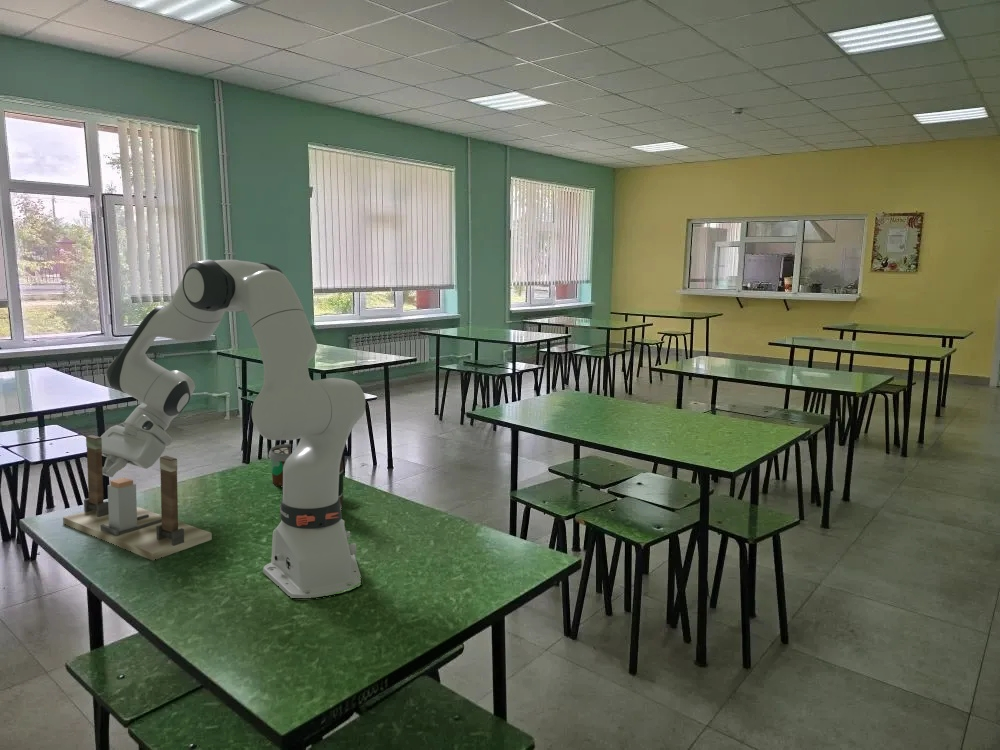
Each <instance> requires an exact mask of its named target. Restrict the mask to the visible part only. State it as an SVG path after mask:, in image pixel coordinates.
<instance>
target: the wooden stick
mask: <svg viewBox="0 0 1000 750" xmlns="http://www.w3.org/2000/svg"><path fill="white" fill-rule="evenodd" d="M85 442H86V443H85V445H86V446H85V447H86V460H87V463H86V464H87V485H88V486H87V489H88V498H89V502H90V503H89V505H88V508H89V509H92V510H94V511H97V507H96V504H99V503H102V502H104V483H103V482H104V481H103V479H104V478H103V476H104V475H103V473H102V468H103V456H102V438H101V436H97V435H94V434H91V435H86V436H85Z"/></svg>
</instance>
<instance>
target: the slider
mask: <svg viewBox="0 0 1000 750" xmlns="http://www.w3.org/2000/svg"><path fill="white" fill-rule="evenodd" d="M109 483H110V484H108V485H107V502H108V510H109V527H111V528H114V529H117V530H119V532H120V531H123V530H127V529H130V528H133V527H137V507H138V502H137V501H138V500H137V484H135V483H134V480H133V479H131V478H127V477H121V478H116V479H113V480H110V481H109Z"/></svg>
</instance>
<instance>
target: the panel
mask: <svg viewBox="0 0 1000 750" xmlns="http://www.w3.org/2000/svg"><path fill="white" fill-rule="evenodd" d="M89 503H90V502H89V497H88V498H84V499H83V507H84V508H83V509H84V511H81V512H78V513H74V514H70V515H67V516H63V517H62V522H63V523H62V524H63V525H65V524H66V525H65V526H67V525H68V527H69V526H70V528H72V527H73V528H72V529H74V528H75V530H77V531H80V532H82V533H85V534H86V535H89V536H91V535H92V537H94V536H95V537H94V538H96V537H97V539H99V540H101V539H102V540H101V541H104V540H105V541H104V542H106V541H107V542H106V543H108V542H109V544H111V543H112V544H111V545H113V544H114V545H113V546H116V545H117V546H116V547H118V546H119V547H118V548H121V549H123V550H125V549H126V551H128V552H130V551H131V553H133V554H135V555H137V556H140V557H142V558H145V559H148V560H150V561H153V562H154V561H155V559H156V560H159V559H162V558H165V557H168V556H169V555H172V554H176V553H178V552H180V551H181V552H182V551H184V550H187V549H189V548H190V549H191V548H192V547H195V546H197V545H201V544H204V543H206V542H210V541H212V540H213V539H212V536H213V535H212V534H213V533H212V532H211V531H208V530H205V529H201V528H200V527H196V526H193V525H190V524H188V523H185V522H182V521H179V520H178V530H175V531H172V532H171V539H169V538H166V537H163V536H162V535H161V531H162V530H163V529H162V516H161V514H159V513H156V512H155V511H151V510H148V509H146V508H145V509H144V508H142V507H139V506H137V527H133V528H130V529H127V530H123V531H120V532H119V530H117V529H114V528H111V527H109V510H108V500H106V501H103V502H102V503H99V504H96V507H97V511H94V510H92V509H89V508H88V505H89ZM161 557H162V558H161Z"/></svg>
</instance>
